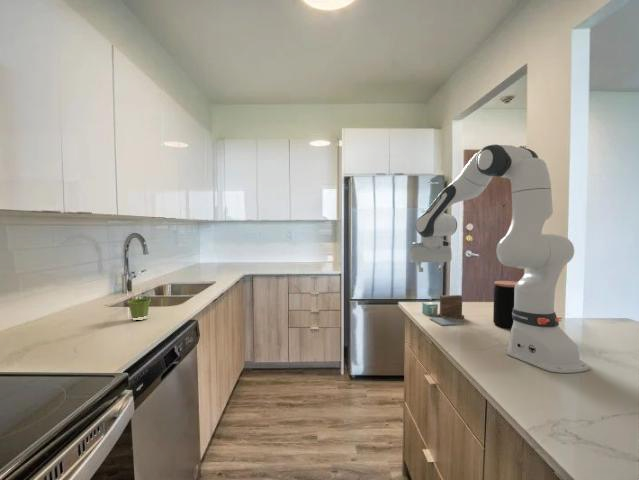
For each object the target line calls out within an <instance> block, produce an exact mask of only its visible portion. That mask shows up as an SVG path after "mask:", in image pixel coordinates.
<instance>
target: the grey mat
mask: <svg viewBox="0 0 639 480" xmlns="http://www.w3.org/2000/svg"><path fill="white" fill-rule="evenodd" d="M429 320H430V321H431V322H434V323H436V324H438V325H439V326H441V327H446V326H459V325H461V326H462V325H463V326H464V323H463V322H462V321H459V320H457V319H455V318H451V317H447V318H440V317H430V318H429Z"/></svg>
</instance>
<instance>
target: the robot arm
mask: <svg viewBox="0 0 639 480" xmlns="http://www.w3.org/2000/svg"><path fill="white" fill-rule="evenodd" d="M548 169H549V168H548V167H547V163H546V162H545V160H543V159H541V158H539V156H538V153H536V152H535V151H534V150H531V149H530V148H526V147H520V146H515V145H509V144H508V145H507V144H489V145H485V146H484V147H482V149H480V150H479V151H477V152H476V153H475V154H474V155H473V156H472V157H471V158H470V160H468V162H467V163H466V165H465V166H464V167H463V169H462V170H461V173H460V174H459V175H458V176H457V177H456V178H455V179H454V181H452V182H451V183H450V184H449V185H447V186H446V187H445V188H443V190H441V192H440V193H438V195H437V196H436V198H435V199H434V200H433V201H432V203H431V204H430V205H429V207H427V208H425V209H423V211H422V212H421V213H422V214H421V215H420V216H419V217H418V218H417V220H416V222H415V230H416V232H417V233H418V234H419V235H420V242H412V243H411V244H410V245H409V255H408V256H409V258H408V260H409V262H410V263H414V264H416V266H417V268H418V272H419V273H424V267H422V266H421V265H422V263H438V264H439V265H438V267H436V271H437V272H442V269H443V267H444V265H445V263H448V262H451V261H452V259H453V257H452V256H453V253H452V248H451V245H452V244H451V242H450V241H448V240H445V239H443V238H441V237H451V236H453V235H454V234H455V233H456V231H457V229H458V221H457V219H456V217H455V216H453V215H450V214H448V213H445V212H446V210H447V209H448V208H450V207H451V206H452V205H455V204H457V203H460V202H464V201H467V200H472V199H476V198H477V197H479V196H480V195H481V194H482V193H483V192H484V191H485V190H486V188H487V187H488V186H489V184H490V183H491V181H492V179H493V178H494V177H495V178H496V177H498V178H503V179H508V180H509V181H510V186H511V188H510V190H511V203H512V204H511V208H512V211H511V212H512V214H511V220H510V225H509V228H508V230H507V232H506V233H505V235H504V237H503V238H501V239H500V240H499V242H498V243H497V246H496V250H495V251H496V257H497V259H498V261H499V263H501V264H502V265H503V266H506V267H509V268H513V269H518V270H519V269H526V270H525V272H524V274H523V276H522V277H521V278H520V279H519V280H518V281H516V282H517V283H516V285H515V288H514V308H513V311H512V318H513V319H514V320H513V325H512V328H511V329H510V332H509V342H508V345H507V348H506V350H505V351H506V352H505V354H506V355H507V356H511V357H513V358H516V359H518V360H520V361H523V362H525V363H528V364H531V365H532V366H535V367H538V368H540V369H543V370H546V371H548V372H552V373H559V374H561V373H563V374H565V373H566V374H567V373H568V374H569V373H570V374H572V373H581V372H585V371H588V370H590V364H589V363H587V362H585V361H583V360H581V359H580V350H579V347H578V345H577V344H576V343H575V341H573V339H572V338H570V337H569V336H568V334H567V333H566V332H565V331H564V330H563V329H562V328H561V327H560V326H559V325H560V324H559V323H560V322H562V319H563V318H562V317H558V316H557V313H556V312H555V298H556V297H555V296H556V295H555V294H556V287H557V283H558V281H559V278H560V275H561V274H562V271H563V269H564V268H565V266H566V265H568V263H569V262H571V261H572V259H573V258H574V255H575V246H574V244H573V242H572V241H571V240H570V239H569V238H567V237H565V236H561V235H559V234H553V233H543V227H544V224H545V223H546V221H547V220H549V219H550V217H552V215H553V212H554V210H553V197H552V195H553V194H552V184H551V183H552V182H551V178H550V173H549V170H548Z"/></svg>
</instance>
